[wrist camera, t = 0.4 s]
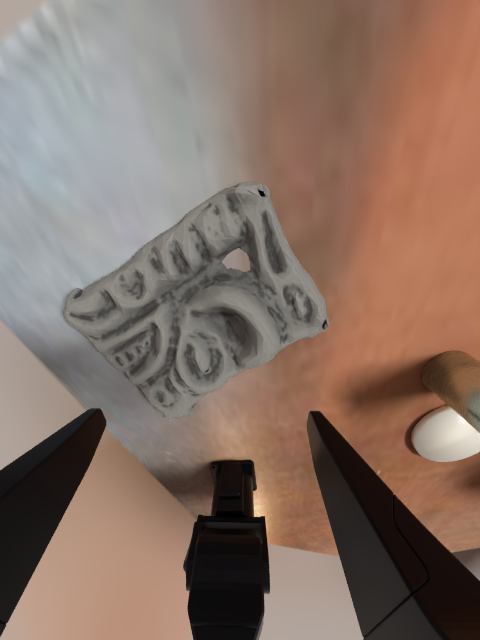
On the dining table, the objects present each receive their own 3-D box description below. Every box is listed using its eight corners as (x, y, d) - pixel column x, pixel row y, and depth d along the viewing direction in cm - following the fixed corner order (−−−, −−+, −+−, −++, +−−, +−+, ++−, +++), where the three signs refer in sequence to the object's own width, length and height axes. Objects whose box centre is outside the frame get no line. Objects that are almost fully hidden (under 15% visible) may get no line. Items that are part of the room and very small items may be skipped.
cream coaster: (478, 454, 31) (484, 460, 30) (404, 457, 31) (408, 463, 30) (504, 399, 27) (511, 404, 26) (419, 404, 27) (424, 409, 27)
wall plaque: (176, 413, 30) (167, 439, 26) (68, 300, 24) (36, 313, 20) (340, 333, 24) (357, 351, 21) (254, 160, 18) (256, 144, 15)
